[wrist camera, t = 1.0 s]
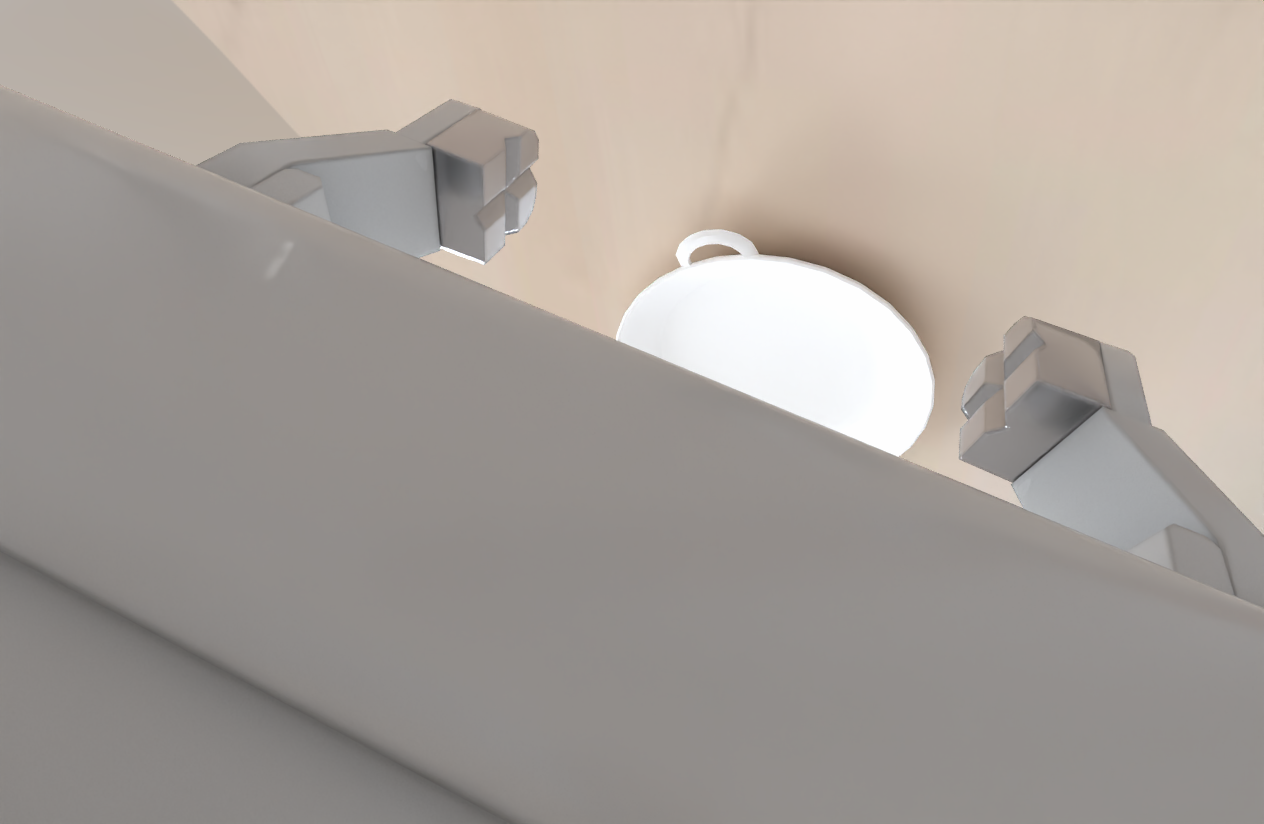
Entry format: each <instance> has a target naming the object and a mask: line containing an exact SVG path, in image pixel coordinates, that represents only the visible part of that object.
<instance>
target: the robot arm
mask: <svg viewBox="0 0 1264 824" xmlns="http://www.w3.org/2000/svg"><path fill="white" fill-rule="evenodd" d="M538 150H539V139H538V137H537V135H536V133H535V131H534V130H531V129H529V128H526V127H524V126H521V125H519V124H516V123H514V122H511V121H509V120H506V119H504V118H501V117H499V116H496V115H494V114H491V113H489V112H486V111H483V110H481V109H480V108H477V107H474V106H471V105H468V104H465V103H463V102H460V101H456V100H452V99H450V100H448V101H447V102H445V103H443V104H442V105H440V106H438V107H437V108H435V109H433V110H432V111H430V112H429V113H427V114H425V115H424V116H422V117H420V118H419V119H417V120H415V121H414V122H412V123H410V124H409V125H407V126H406V127H404V128H402V129H401V130H399V131H397V132H396V133H395V132H392V131H389V130H378V131H367V132H356V133H345V134H334V135H323V136H313V137H302V138H291V139H280V140H269V141H258V142H248V143H239V144H237V145H235V146H234V147H232V148H230V149H228V150H226V151H224V152H222V153H220V154H218V155H216V156H214V157H212V158H210V159H208V160H206V161H204V162H202V163H200V164H198V165H196V166H195V165H193V164H190V163H187V162H185V161H183V160H180V159H178V158H175V157H173V156H171V155H168V154H166V153H163V152H161V151H159V150H156V149H154V148H151V147H149V146H147V145H144V144H142V143H139V142H137V141H135V140H132V139H130V138H127V137H125V136H122V135H120V134H118V133H115V132H113V131H111V130H108V129H105V128H103V127H101V126H98V125H96V124H94V123H91V122H89V121H86V120H84V119H81V118H79V117H77V116H74V115H72V114H69V113H67V112H64V111H62V110H59V109H57V108H55V107H53V106H50V105H48V104H45V103H43V102H40V101H38V100H35V99H33V98H31V97H28V96H26V95H23V94H21V93H19V92H16V91H14V90H12V89H9V88H7V87H4V86H2V85H0V824H1264V535H1263V534H1262V533H1261V532H1260V531H1259V530H1258V529H1257V528H1256V527H1255V526H1254V525H1253V524H1252V523H1251V521H1250V520H1249V519H1248V518H1247V517H1246V516H1245V515H1244V514H1243V513H1242V512H1241V511H1240V510H1239V509H1238V508H1237V507H1236V506H1235V505H1234V504H1233V503H1232V502H1231V501H1230V500H1229V498H1228V497H1227V496H1226V495H1225V494H1224V493H1223V492H1222V491H1221V490H1220V489H1219V488H1218V487H1217V486H1216V485H1215V484H1214V483H1213V482H1212V481H1211V480H1210V479H1209V478H1208V477H1207V475H1206V474H1205V473H1204V472H1203V471H1202V470H1201V469H1200V468H1199V467H1198V466H1197V465H1196V464H1195V463H1194V462H1193V461H1192V460H1191V459H1190V458H1189V457H1188V456H1187V455H1186V454H1185V453H1184V451H1183V450H1182V449H1181V448H1180V447H1179V446H1178V445H1177V444H1176V443H1175V442H1174V441H1173V440H1172V439H1171V438H1170V437H1169V436H1168V435H1167V434H1166V433H1165V432H1164V431H1163V430H1162V429H1159V428H1156V427H1154V426H1152V424H1151V420H1150V416H1149V412H1148V408H1147V404H1146V399H1145V395H1144V391H1143V387H1142V383H1141V379H1140V375H1139V371H1138V366H1137V362H1136V358H1135V356H1134V355H1133V354H1131V353H1130V352H1129V351H1127V350H1124V349H1121V348H1118V347H1115V346H1112V345H1109V344H1106V343H1103V342H1100V341H1098V340H1095V339H1092V338H1089V337H1086V336H1084V335H1081V334H1078V333H1075V332H1072V331H1069V330H1066V329H1063V328H1061V327H1058V326H1055V325H1052V324H1049V323H1046V322H1043V321H1040V320H1038V319H1035V318H1032V317H1026V316H1024V317H1022V318H1021V319H1020V320H1018V321H1017V322H1016V323H1015V324H1014V325H1013V326H1012V327H1011V328H1010V329H1009V330H1008V331H1007V333H1006V334H1005V335H1004V350H1003V351H1000V352H997V353H994V354H991V355H988V356H986V357H985V358H984V359H983V361H982V362H981V363H980V364H979V365H978V367H977V368H976V369H975V370H974V372H973V374H972V375H971V377H970V379H969V381H968V383H967V385H966V387H965V390H964V393H963V397H962V405H961V410H962V411H963V413H964V414H965V416H966V417H967V419H968V421H967V422H966V423H965V424H964V425H963V426H962V428H961V429H960V444H959V459H960V460H962V461H964V462H967V463H969V464H971V465H973V466H976V467H978V468H980V469H983V470H985V471H987V472H989V473H992V474H994V475H996V476H999V477H1001V478H1003V479H1005V480H1008V481H1010V482H1012V484H1011V485H1012V487H1013V489H1014V491H1015V493H1016V495H1017V497H1018V499H1019V501H1020V503H1021V504H1022V506H1023V508H1024V509H1023V508H1021V507H1019V506H1016V505H1014V504H1011V503H1009V502H1007V501H1004V500H1002V499H999V498H997V497H994V496H992V495H990V494H987V493H985V492H982V491H980V490H978V489H975V488H973V487H970V486H968V485H965V484H963V483H961V482H958V481H956V480H953V479H951V478H949V477H946V476H944V475H941V474H939V473H936V472H934V471H932V470H929V469H927V468H924V467H922V466H920V465H917V464H915V463H912V462H910V461H907V460H905V459H903V458H900V457H898V456H895V455H893V454H891V453H888V452H886V451H883V450H881V449H878V448H876V447H874V446H871V445H869V444H866V443H864V442H862V441H859V440H857V439H854V438H852V437H849V436H847V435H845V434H842V433H840V432H837V431H835V430H833V429H830V428H828V427H825V426H823V425H820V424H818V423H816V422H813V421H811V420H808V419H806V418H804V417H801V416H799V415H796V414H794V413H791V412H789V411H787V410H784V409H782V408H779V407H777V406H775V405H772V404H770V403H767V402H765V401H762V400H760V399H758V398H755V397H753V396H750V395H748V394H746V393H743V392H741V391H738V390H736V389H734V388H731V387H729V386H726V385H724V384H721V383H719V382H717V381H714V380H712V379H709V378H707V377H705V376H702V375H700V374H697V373H695V372H692V371H690V370H688V369H685V368H683V367H680V366H678V365H676V364H673V363H671V362H668V361H666V360H663V359H661V358H659V357H656V356H654V355H651V354H649V353H647V352H644V351H642V350H639V349H637V348H634V347H632V346H630V345H627V344H625V343H622V342H620V341H618V340H615V339H613V338H610V337H608V336H606V335H603V334H601V333H598V332H596V331H593V330H591V329H589V328H586V327H584V326H581V325H579V324H577V323H574V322H572V321H569V320H567V319H564V318H562V317H560V316H557V315H555V314H552V313H550V312H548V311H545V310H543V309H540V308H538V307H535V306H533V305H531V304H528V303H526V302H523V301H521V300H519V299H516V298H514V297H511V296H509V295H506V294H504V293H502V292H499V291H497V290H494V289H492V288H490V287H487V286H485V285H482V284H480V283H478V282H475V281H473V280H470V279H468V278H465V277H463V276H461V275H458V274H456V273H453V272H451V271H449V270H446V269H444V268H441V267H439V266H436V265H434V264H432V263H429V262H427V261H424V260H422V259H420V257H423V256H426V255H429V254H432V253H435V252H438V251H440V248H441V249H444V250H446V251H449V252H452V253H454V254H457V255H460V256H462V257H465V258H468V259H470V260H473V261H476V262H478V263H481V264H484V265H485V264H486V263H487V262H488V261H489V260H490V259H491V258H492V257H493V256H494V255H495V254H496V253H497V252H499V251H500V250H501V249H502V248H503V247H504V246H505V235H509V234H513V233H518V232H519V231H520V230H521V229H522V228H523V226H524V225H525V224H526V223H527V221H528V219H529V217H530V215H531V213H532V211H533V208H534V203H535V199H536V191H537V182H536V180H535V178H534V176H533V174H532V172H531V170H530V167H531V166H532V165H533V164H534V163H535V162H536V161H537V159H538Z"/></svg>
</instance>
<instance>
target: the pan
mask: <svg viewBox="0 0 1264 824" xmlns="http://www.w3.org/2000/svg"><path fill="white" fill-rule="evenodd" d="M707 244H721V245H725V246H729V247H732V248H733V249H735V250H737V251H738V252H740V253H741V255H728V256H716V257H712V258H708V259H705V260H701V261H697V262H693V263H692V262H691V260H690V255H691V253H692V252H693V251H694V250H695V249H696V248H698V247H701V246H704V245H707ZM676 256H677V258H678V260H679V263H680V265H681V267H679V268H677V269H675V270H673V271H671V272H669V273H667V274H665V275H663V276H661V277H659V278H658V279H657V280H655V281H654V282H653V283H652V284H650V285H649V286H648V287H647V288H646V289H644V290H643V291H642V292H641V293H639V294H638V296H637V297H636V298H635V300H634V301H633V302H632V304H631V305H630V307H629V308H628V309H627V311H626V312H625V313H624V316H623V319H622V321H621V324H620V327H619V329H618V332H617V335H616V340H618V341H620V342H622V343H625V344H627V345H630V346H632V347H634V348H637V349H639V350H642V351H644V352H647V353H649V354H651V355H654V356H656V357H659V358H661V359H663V360H666V361H668V362H671V363H673V364H676V365H678V366H680V367H683V368H685V369H688V370H690V371H692V372H695V373H697V374H700V375H702V376H705V377H707V378H709V379H712V380H714V381H717V382H719V383H721V384H724V385H726V386H729V387H731V388H734V389H736V390H738V391H741V392H743V393H746V394H748V395H750V396H753V397H755V398H758V399H760V400H762V401H765V402H767V403H770V404H772V405H775V406H777V407H779V408H782V409H784V410H787V411H789V412H791V413H794V414H796V415H799V416H801V417H804V418H806V419H808V420H811V421H813V422H816V423H818V424H820V425H823V426H825V427H828V428H830V429H833V430H835V431H837V432H840V433H842V434H845V435H847V436H849V437H852V438H854V439H857V440H859V441H862V442H864V443H866V444H869V445H871V446H874V447H876V448H878V449H881V450H883V451H886V452H888V453H891V454H893V455H895V456H898V457H899V456H900V455H901V454H903V453H904V452H905V451H906V450H908V449H909V448H910V447H911V446H912V445H913V444H914V442H915V441H916V440H917V438H918V437H919V436H920V434H921V433H922V432H923V430H924V429H925V427H926V425H927V422H928V419H929V417H930V414H931V411H932V408H933V406H934V387H935V379H934V375H933V371H932V367H931V363H930V359H929V355H928V353H927V351H926V349H925V348H924V346H923V344H922V342H921V341H920V339H919V337H918V336H917V334H916V332H915V330H914V329H913V327H912V326H911V325H910V324H909V323H908V322H907V321H906V320H905V319H904V318H903V317H902V315H901V314H900V313H899V312H898V311H897V310H896V309H895V308H894V307H893V306H892V305H891V304H890V303H889V302H887V301H886V300H884V299H883V298H882V297H880V296H879V295H877V294H876V293H874V292H873V291H872V290H870V289H869V288H867V287H866V286H864V285H863V284H862V283H860V282H858V281H855V280H853V279H851V278H849V277H847V276H844V275H842V274H840V273H838V272H836V271H834V270H831V269H829V268H827V267H824V266H820V265H816V264H812V263H809V262H805V261H801V260H797V259H794V258H790V257H780V256H770V255H760V254H759V253H758V251H757V250H756V248H755V246H754V245H753V243H752V242H751V241H750V240H748V239H747V238H745V237H743V236H742V235H740V234H738V233H734V232H730V231H726V230H722V229H718V230H703V231H700V232H697V233H695V234H692V235H689V236H688V237H687V238H686V239H685V240H684V241H683V242H682V243H680V245H679V248H678V250H677V253H676Z"/></svg>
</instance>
